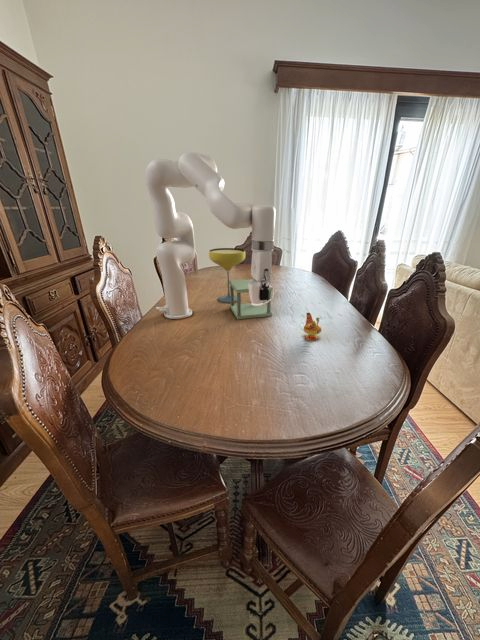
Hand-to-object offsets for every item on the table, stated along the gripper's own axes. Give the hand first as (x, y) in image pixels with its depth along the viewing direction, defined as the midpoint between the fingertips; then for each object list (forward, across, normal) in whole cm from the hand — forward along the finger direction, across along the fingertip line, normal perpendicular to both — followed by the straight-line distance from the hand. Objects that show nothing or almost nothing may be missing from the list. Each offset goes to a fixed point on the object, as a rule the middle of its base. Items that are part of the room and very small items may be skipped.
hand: (260, 296), depth 105 cm
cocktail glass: (+17, -48, -2) cm, 51 cm away
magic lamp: (+16, +6, +20) cm, 26 cm away
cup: (+3, 0, 0) cm, 3 cm away
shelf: (+16, -27, +4) cm, 32 cm away
